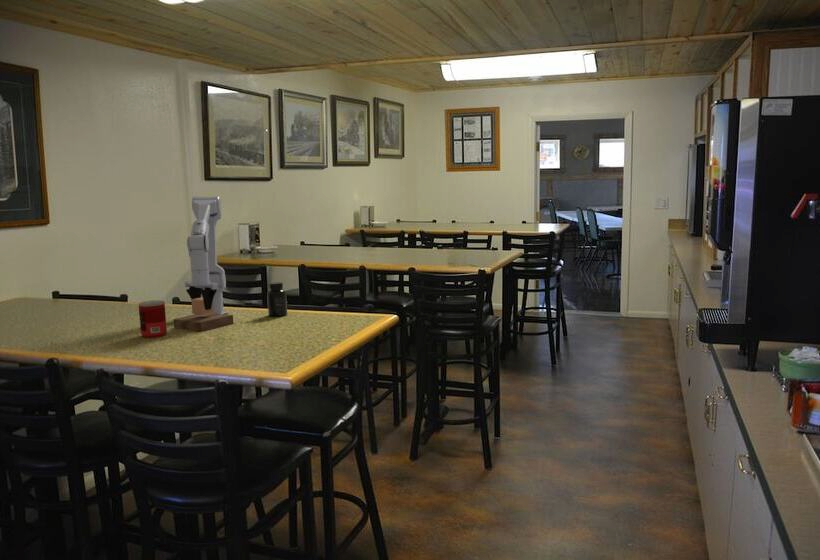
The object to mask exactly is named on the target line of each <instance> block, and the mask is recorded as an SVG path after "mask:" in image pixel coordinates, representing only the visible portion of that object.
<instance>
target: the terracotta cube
mask: <svg viewBox="0 0 820 560" xmlns="http://www.w3.org/2000/svg"><path fill="white" fill-rule="evenodd" d="M190 300H191V312H192V313H191V315H194V314H199V315H204V314H209V313H213V312H214V309H213V302H212V307H211V309H209V310H205V306H204V300H203V297H201V298H196V299H191V298H190Z"/></svg>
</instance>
